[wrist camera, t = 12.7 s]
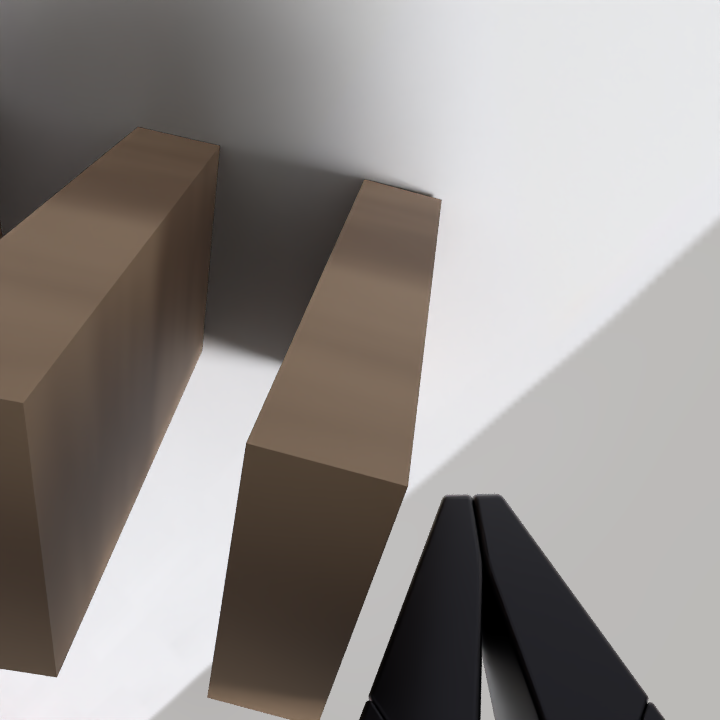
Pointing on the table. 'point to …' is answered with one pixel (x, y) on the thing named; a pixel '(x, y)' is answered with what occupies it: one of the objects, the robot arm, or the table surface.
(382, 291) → the domino
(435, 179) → the table surface
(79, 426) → the domino
